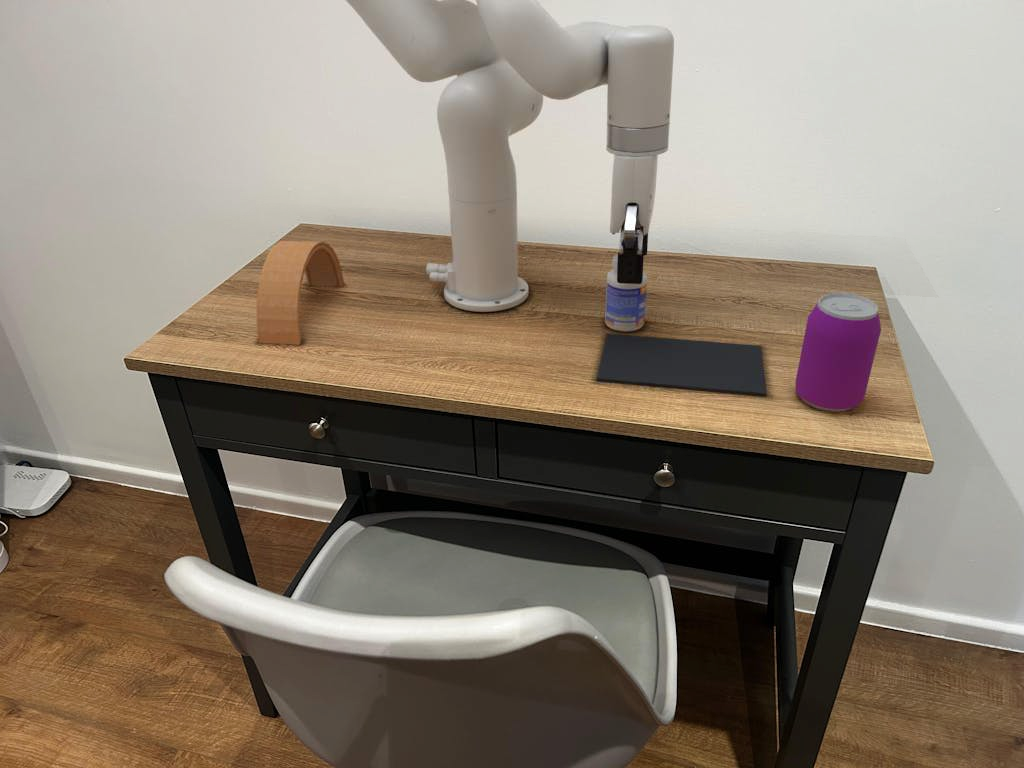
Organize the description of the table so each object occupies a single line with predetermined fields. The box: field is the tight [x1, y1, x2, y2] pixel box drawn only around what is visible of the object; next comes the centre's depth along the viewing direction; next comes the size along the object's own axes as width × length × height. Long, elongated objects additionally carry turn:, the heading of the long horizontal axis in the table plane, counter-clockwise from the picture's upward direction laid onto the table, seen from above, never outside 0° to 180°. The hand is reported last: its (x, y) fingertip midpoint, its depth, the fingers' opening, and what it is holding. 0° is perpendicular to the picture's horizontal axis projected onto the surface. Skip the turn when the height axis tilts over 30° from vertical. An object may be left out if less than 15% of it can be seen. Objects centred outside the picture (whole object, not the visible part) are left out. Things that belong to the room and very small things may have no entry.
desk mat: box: [596, 333, 767, 397], centre depth 101 cm, size 20×12×1 cm, turn 78°
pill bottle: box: [604, 253, 648, 332], centre depth 109 cm, size 5×5×10 cm
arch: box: [256, 240, 345, 346], centre depth 114 cm, size 6×20×10 cm, turn 173°
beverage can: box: [794, 292, 882, 413], centre depth 91 cm, size 8×8×12 cm
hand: (632, 268), depth 107 cm, fingers open, 9 cm apart
